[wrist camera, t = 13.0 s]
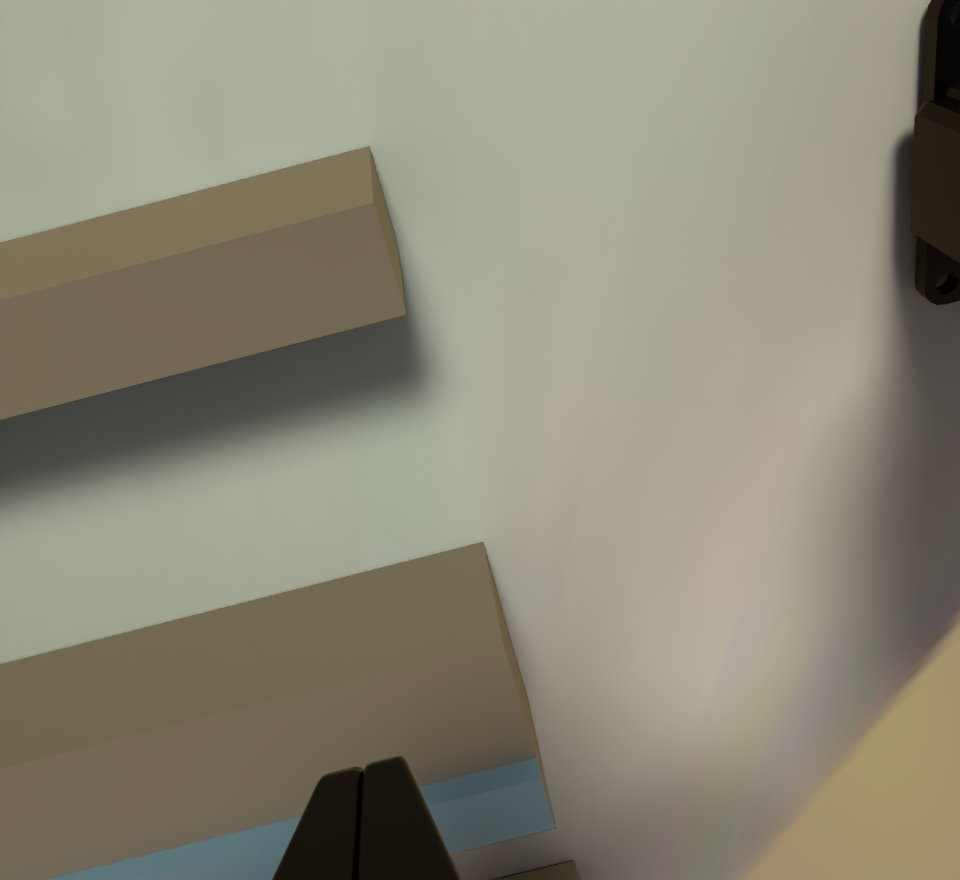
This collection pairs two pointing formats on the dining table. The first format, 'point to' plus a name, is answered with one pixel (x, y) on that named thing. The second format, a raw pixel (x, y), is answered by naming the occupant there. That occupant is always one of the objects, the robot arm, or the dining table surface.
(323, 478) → the dining table surface
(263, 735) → the grey square frame
